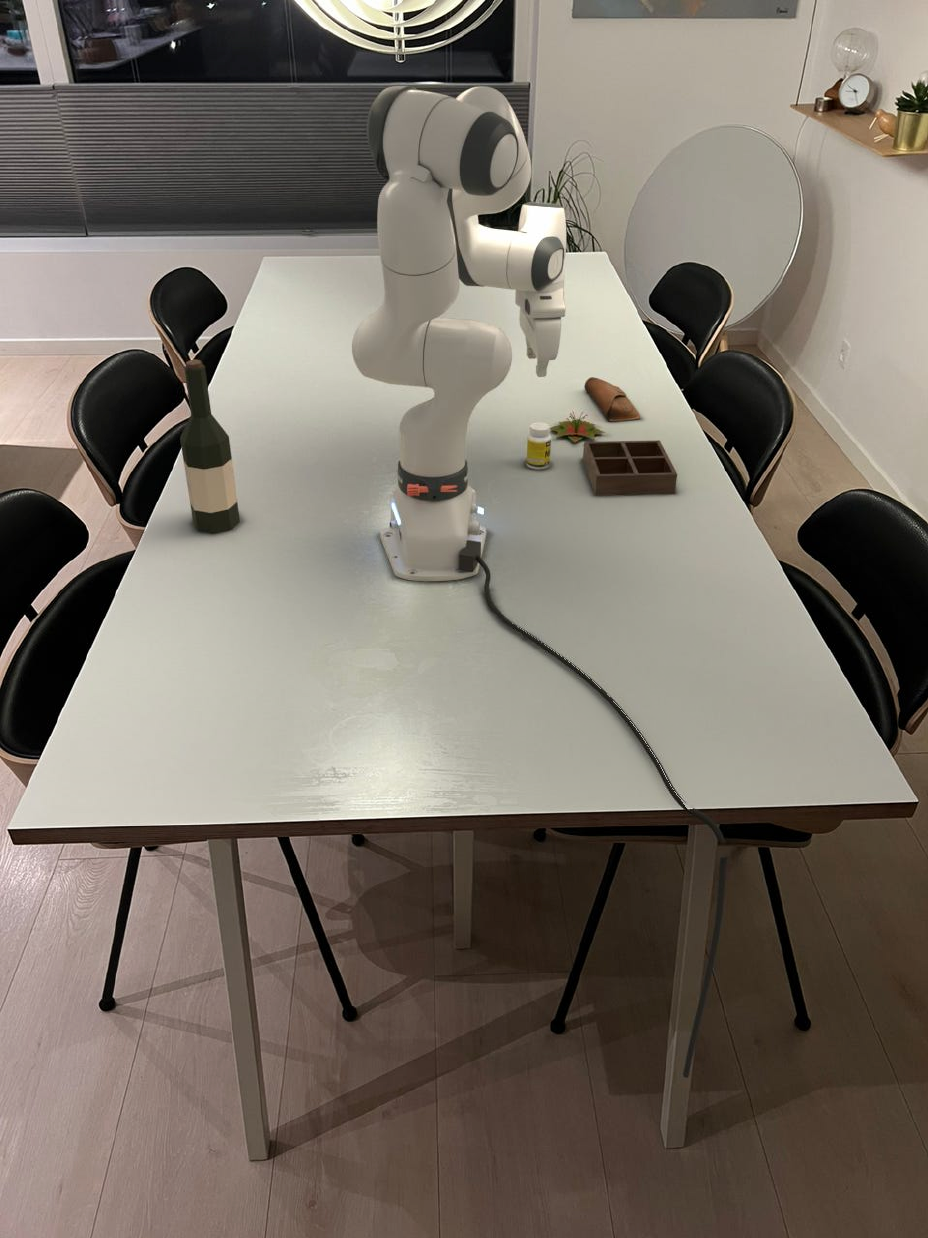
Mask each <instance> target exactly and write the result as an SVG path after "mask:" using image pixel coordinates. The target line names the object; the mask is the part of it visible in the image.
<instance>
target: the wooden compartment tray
mask: <svg viewBox="0 0 928 1238" xmlns="http://www.w3.org/2000/svg"><path fill="white" fill-rule="evenodd" d="M582 449H583V452H582V462H583V465H584V468H585V471H586V474H587V477H588V479H589V482H590V485H591V487H592V491H593V493H594V495H595V496H623V495H624V496H625V495H626V496H628V495H629V496H630V495H666V494H667V495H668V494H669V495H671V494H676V488H677V481H678V473H677V471H676V469H675V467H674V464H673V463H672V461H671V459H670V456H669V455H668V453H667V451H666V449H665V447H664V445H663V444H662V442H661V440H658V439H657V440H615V441H612V440H611V441H610V440H609V441H607V440H606V441H584V442H583V448H582Z"/></svg>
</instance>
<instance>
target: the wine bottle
mask: <svg viewBox="0 0 928 1238" xmlns="http://www.w3.org/2000/svg"><path fill="white" fill-rule="evenodd" d="M185 364H186V365H185V366H183V370H184V376H185V383H186V389H187V397H188V402H189V409H190V410H189V411H190V416H189V418H188V420H187V422H186V424H185V426H184V429H183V431H182V432H181V435H180V436H179V441H180V447H181V453H182V459H183V465H184V466H183V467H184V472H185V473H184V474H185V479H186V480H185V481H186V485H187V486H186V487H187V492H188V499H189V505H190V511H191V516H192V523H193V526H194V527H195V529H196V530H197V531H198V532H203V533H207V534H213V535H215V534H219V533H223V532H229V531H232V530H233V529H235V527H236V526H237V525H238V524H239V523H240V522H241V520H240V519H241V518H240V511H239V505H238V496H237V495H238V494H237V487H236V480H235V472H234V465H233V457H232V450H231V441H230V436H229V435H228V433H227V432H226V431H225V429H224V428H223V427H222V426H221V424H220V423H219V422H218V420H217V419H216V417H214V415H213V414H212V408H211V401H210V394H209V387H208V386H209V385H208V380H207V372H206V366H205V365H204V364H203V362H202V360H201V359H189V360H187V361H186V362H185Z"/></svg>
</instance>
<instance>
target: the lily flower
mask: <svg viewBox="0 0 928 1238" xmlns="http://www.w3.org/2000/svg"><path fill="white" fill-rule="evenodd" d="M583 413H584V411H582V413H580V415H579V417H578V418H576V415H575V412H574V411H572V413H571V412H570V413H569V418H571V420H570V419H569V418H568V417H566V420H563V421H558V425H554V426H550V431H551V430H552V431H555V432H557V433H556V436H555V438H560V437H563V436H567V438H568V439H569V440H570V441H572V442H573V443H574V444H576V442H578V441H580V440H582V439H584V438H588V439H590V440H593V441H596V439H595V435H599V434H606V433H607V432H606V431H603V430H602V429H599V428H595V426H597V424H595V423H593V422H590V421H587V420H584V419H585V418H586V417H587V416H588V414H585V415H583ZM582 415H583V416H582Z"/></svg>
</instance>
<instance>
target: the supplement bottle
mask: <svg viewBox="0 0 928 1238" xmlns="http://www.w3.org/2000/svg"><path fill="white" fill-rule="evenodd" d="M550 428H551V426H550V424H548V423H547V422H542V421H541V422H540V421H538V422H533V423H531V424H530V425H529V433H528V434H527V437H526V438H527V441H526V442H527V443H526V462H525V463H526V464H525V465H526V466H527V468H530V469H532V470H537V471H539V470H546V469H548V468H549V467H550V463H551V450H552V449H551V447H552V436H551V434H550V433H551V429H550Z"/></svg>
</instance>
